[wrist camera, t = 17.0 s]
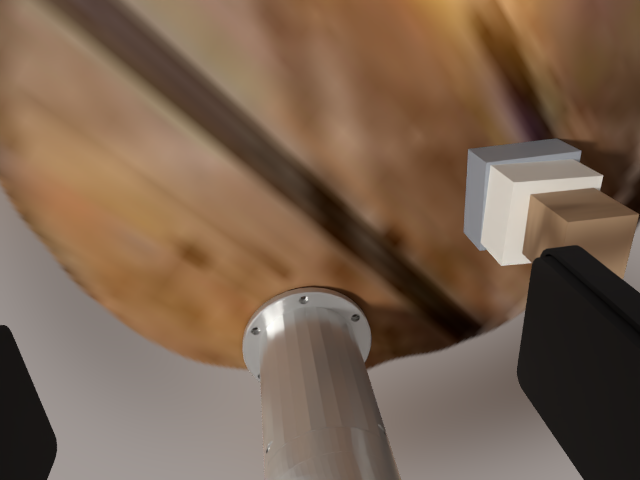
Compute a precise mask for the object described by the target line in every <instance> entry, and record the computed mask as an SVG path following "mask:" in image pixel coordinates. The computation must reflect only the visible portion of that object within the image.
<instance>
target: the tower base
mask: <svg viewBox="0 0 640 480" xmlns="http://www.w3.org/2000/svg"><path fill="white" fill-rule="evenodd" d="M580 157H581V150H579V149H577V148H575V147H573V146H571V145H569V144H567V143H565V142H563V141H561V140H559V139H548V140H540V141H532V142H524V143H515V144H507V145H499V146H490V147H482V148H474V149H468V164H467V182H466V200H465V218H464V233H465V234H466V235H467V237H468V238H469V239H470V240H471V241H472V242H473V243H474V245H475V246H476V247H477V248H478V249H479V250H480V251H481V250H487V249H486V248H485V247H484V246H483V245H482V244H481V236H482V229H483V221H484V213H485V205H486V197H487V189H488V182H489V174H490V166H491V165H498V164H512V163H526V162H539V161H553V160H567V159H574V160H576V161H578V162H579V163H580Z"/></svg>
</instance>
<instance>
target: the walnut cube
mask: <svg viewBox="0 0 640 480" xmlns="http://www.w3.org/2000/svg"><path fill="white" fill-rule="evenodd" d="M638 217H639V214H638V213H636V212H635V211H633V210H631V209H629V208H628V207H626V206H624V205H623V204H621V203H619V202H618V201H616V200H614V199H612V198H611V197H609V196H607V195H606V194H604V193H602V192H600V191H599V190H597V189H595V188H585V189H576V190H567V191H557V192H548V193H538V194H530V201H529V208H528V215H527V222H526V229H525V236H524V243H523V251H522V254H523V255H524V256H525V257H526V258H527V259H528V260H529V261H530V262H531V263H532V264H533V261H534V259H536V258H537V257H540V255H541V253H542V252H543V250H545V249H547V248H555V247H563V246H571V245H578V246H580V247H582V248H583V249H585V250H586V251H587V252H588V253H590V254H591V255H592V256H593V257H595V258H596V259H597V260H598V261H600V262H601V263H602V264H604V265H605V266H606V267H607V268H609V269H610V270H611V271H612V272H614V273H615V274H616V275H617V276H619V277H620V278H621V279H623V278H624V273H625V269H626V265H627V261H628V257H629V253H630V249H631V245H632V241H633V237H634V233H635V229H636V225H637V221H638Z"/></svg>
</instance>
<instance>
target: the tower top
mask: <svg viewBox="0 0 640 480" xmlns="http://www.w3.org/2000/svg"><path fill="white" fill-rule="evenodd" d="M602 180H603V175H602V174H600V173H598V172H596V171H594V170H592V169H590V168H589V167H587V166H585V165H583V164H581V163H579V162H578V161H576V160H574V159H567V160H553V161H539V162H526V163H512V164H498V165H491V166H490V174H489V182H488V189H487V197H486V205H485V213H484V221H483V229H482V236H481V244H482V245H483V246H484V247H485V248H486V249H487V250H488V252H489V253H490V254H491V255H492V256H493V257H494V258H495V259H496V260H497V262H498V263H499V264H500V265H501V266H504V265H515V264H525V263H531V262H530V261H529V260H528V259H527V258H526V257H525V256H524V255H523V254H522V251H523V243H524V236H525V229H526V222H527V215H528V208H529V201H530V194H538V193H548V192H557V191H567V190H576V189H585V188H595V189H597V190H599V191H600V188H601V184H602Z"/></svg>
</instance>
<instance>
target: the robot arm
mask: <svg viewBox="0 0 640 480" xmlns="http://www.w3.org/2000/svg"><path fill="white" fill-rule="evenodd" d="M303 296H304V297H303ZM371 339H372V338H371V331H370V327H369V324H368V321H367V318H366V317H365V315H364V313H363V311H362V310H361V308H360V307H359V306H358V305H357V304H356V303H355V302H354V301H352V300H351V299H350V298H348V297H347V296H345V295H343V294H341V293H339V292H336V291H333V290H329V289H325V288H315V287H308V288H298V289H294V290H290V291H286V292H284V293H282V294H279V295H277V296H275V297H273V298H272V299H270V300H269V301H267V302H265V303H264V304H263V305H262V306H261V307H260V308H259V309H258V310H257V311H256V312H255V313H254V314H253V316H252V317H251V318H250V320H249V322H248V324H247V326H246V328H245V331H244V336H243V356H244V361H245V364H246V366H247V368H248V370H249V371H250V373H251V374H252V376H253V377H254V378H255V379H256V380H257V381H258V382H260V383H261V405H262V430H263V452H264V476H265V480H401V478H400V475H399V471H398V468H397V465H396V462H395V459H394V456H393V452H392V449H391V446H390V443H389V439H388V437H387V433H386V430H385V427H384V424H383V420H382V417H381V414H380V411H379V408H378V405H377V402H376V398H375V395H374V392H373V389H372V386H371V382H370V380H369V376H368V373H367V370H366V367H365V361H366V359H367V358H368V355H369V351H370V348H371ZM517 376H518V380H519V384H520V386H521V388H522V390H523V391H524V393H525V394H526V396H527V397H528V399H529V400H530V401H531V403H532V404H533V406H534V407H535V409H536V410H537V412H538V413H539V414H540V416H541V418H542V419H543V420H544V422H545V423H546V425H547V426H548V428H549V429H550V431H551V432H552V434H553V435H554V437H555V438H556V439H557V441H558V443H559V444H560V445H561V447H562V448H563V450H564V451H565V453H566V454H567V456H568V457H569V459H570V460H571V462H572V463H573V465H574V466H575V467H576V469H577V470H578V472H579V473H580V475H581V476H582V478H583V479H584V480H640V293H639V292H638V291H636V290H635V289H634V288H633V287H631V286H630V285H629V284H628V283H626V282H625V281H624V280H622V279H621V278H620V277H619V276H617V275H616V274H615V273H614V272H612V271H611V270H610V269H609V268H607V267H606V266H605V265H604V264H602V263H601V262H600V261H598V260H597V259H596V258H595V257H593V256H592V255H591V254H590V253H588V252H587V251H586V250H585V249H583V248H582V247H580V246H578V245H571V246H563V247H555V248H547V249H545V250H543V252H542V253H541V255H540V257H537V258H536V259H534V261H533V264H532V269H531V276H530V283H529V289H528V296H527V303H526V310H525V317H524V325H523V332H522V339H521V345H520V352H519V359H518V366H517ZM56 452H57V442H56V437H55V434H54V432H53V429H52V427H51V425H50V422H49V420H48V418H47V416H46V413H45V410H44V408H43V406H42V403H41V401H40V399H39V397H38V394H37V392H36V389H35V387H34V384H33V382H32V380H31V377H30V375H29V373H28V370H27V368H26V366H25V363H24V361H23V358H22V356H21V354H20V351H19V349H18V346H17V344H16V342H15V339H14V337H13V335H12V332H11V331H10V329H9V328H8V327H7V326H5V325H0V480H47V478H48V476H49V473H50V471H51V468H52V466H53V463H54V460H55V457H56Z"/></svg>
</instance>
